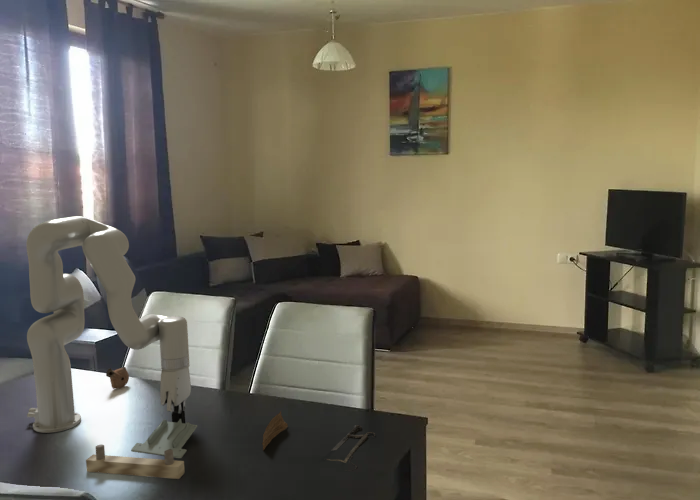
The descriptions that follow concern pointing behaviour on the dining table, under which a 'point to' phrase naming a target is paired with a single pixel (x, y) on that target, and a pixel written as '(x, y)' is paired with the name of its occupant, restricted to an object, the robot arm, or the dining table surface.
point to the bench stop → (135, 465)
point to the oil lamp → (118, 377)
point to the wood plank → (273, 429)
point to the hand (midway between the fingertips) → (178, 425)
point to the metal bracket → (167, 439)
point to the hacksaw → (363, 438)
